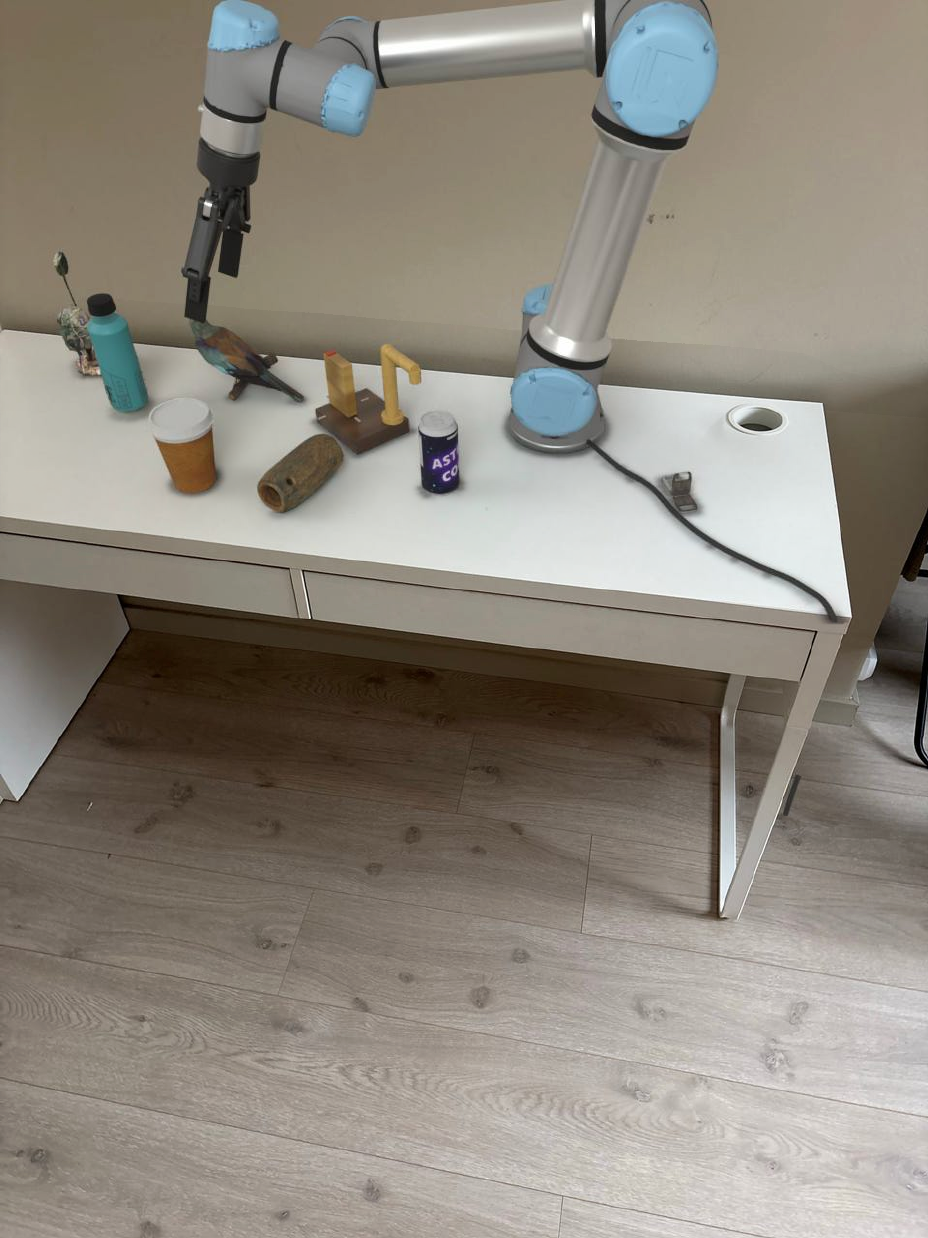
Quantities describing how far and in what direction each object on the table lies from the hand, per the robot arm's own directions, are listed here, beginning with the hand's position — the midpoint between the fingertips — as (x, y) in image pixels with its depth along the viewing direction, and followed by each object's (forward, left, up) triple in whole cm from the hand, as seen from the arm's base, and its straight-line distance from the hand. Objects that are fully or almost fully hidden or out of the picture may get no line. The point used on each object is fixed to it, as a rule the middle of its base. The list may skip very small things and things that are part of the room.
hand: (211, 295), depth 141 cm
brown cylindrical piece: (-13, -3, -27) cm, 30 cm away
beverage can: (-25, -19, -27) cm, 42 cm away
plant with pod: (+42, +7, -27) cm, 50 cm away
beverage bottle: (+25, +8, -27) cm, 38 cm away
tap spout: (-12, -22, -25) cm, 35 cm away
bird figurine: (+18, -11, -27) cm, 34 cm away
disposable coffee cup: (0, +9, -27) cm, 29 cm away
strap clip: (-49, -45, -27) cm, 72 cm away
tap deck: (-3, -19, -27) cm, 33 cm away
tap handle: (-1, -18, -25) cm, 30 cm away
